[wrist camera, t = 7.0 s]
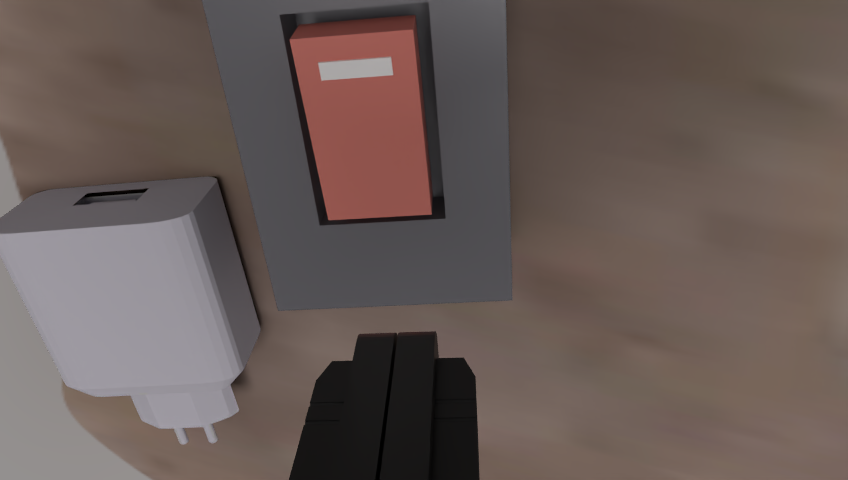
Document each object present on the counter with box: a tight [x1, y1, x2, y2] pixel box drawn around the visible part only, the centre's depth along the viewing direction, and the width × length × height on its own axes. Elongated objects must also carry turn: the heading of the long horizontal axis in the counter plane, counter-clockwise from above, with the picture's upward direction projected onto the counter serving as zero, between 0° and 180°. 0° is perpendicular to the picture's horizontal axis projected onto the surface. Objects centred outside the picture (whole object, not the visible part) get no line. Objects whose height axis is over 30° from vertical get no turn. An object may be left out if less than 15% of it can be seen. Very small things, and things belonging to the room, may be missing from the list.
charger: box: [0, 177, 261, 444], centre depth 32 cm, size 5×9×15 cm
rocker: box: [290, 15, 433, 220], centre depth 23 cm, size 7×4×2 cm, turn 5°
